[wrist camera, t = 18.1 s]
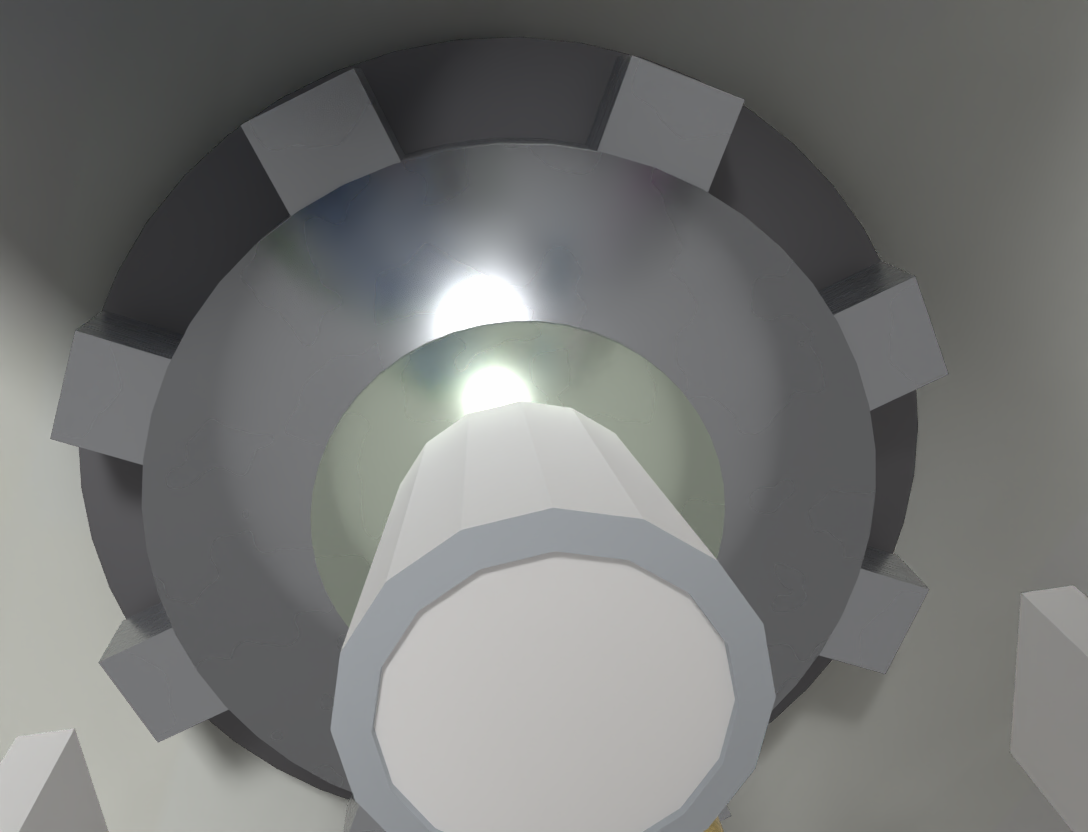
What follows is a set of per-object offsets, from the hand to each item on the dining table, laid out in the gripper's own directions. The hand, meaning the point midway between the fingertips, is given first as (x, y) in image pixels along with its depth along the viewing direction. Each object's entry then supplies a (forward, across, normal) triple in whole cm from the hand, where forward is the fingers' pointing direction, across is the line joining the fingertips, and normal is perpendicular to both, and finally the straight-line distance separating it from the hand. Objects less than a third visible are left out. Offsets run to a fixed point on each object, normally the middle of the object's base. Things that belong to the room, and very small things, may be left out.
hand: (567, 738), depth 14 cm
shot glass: (+8, 0, -1) cm, 8 cm away
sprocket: (+10, 0, -1) cm, 10 cm away
